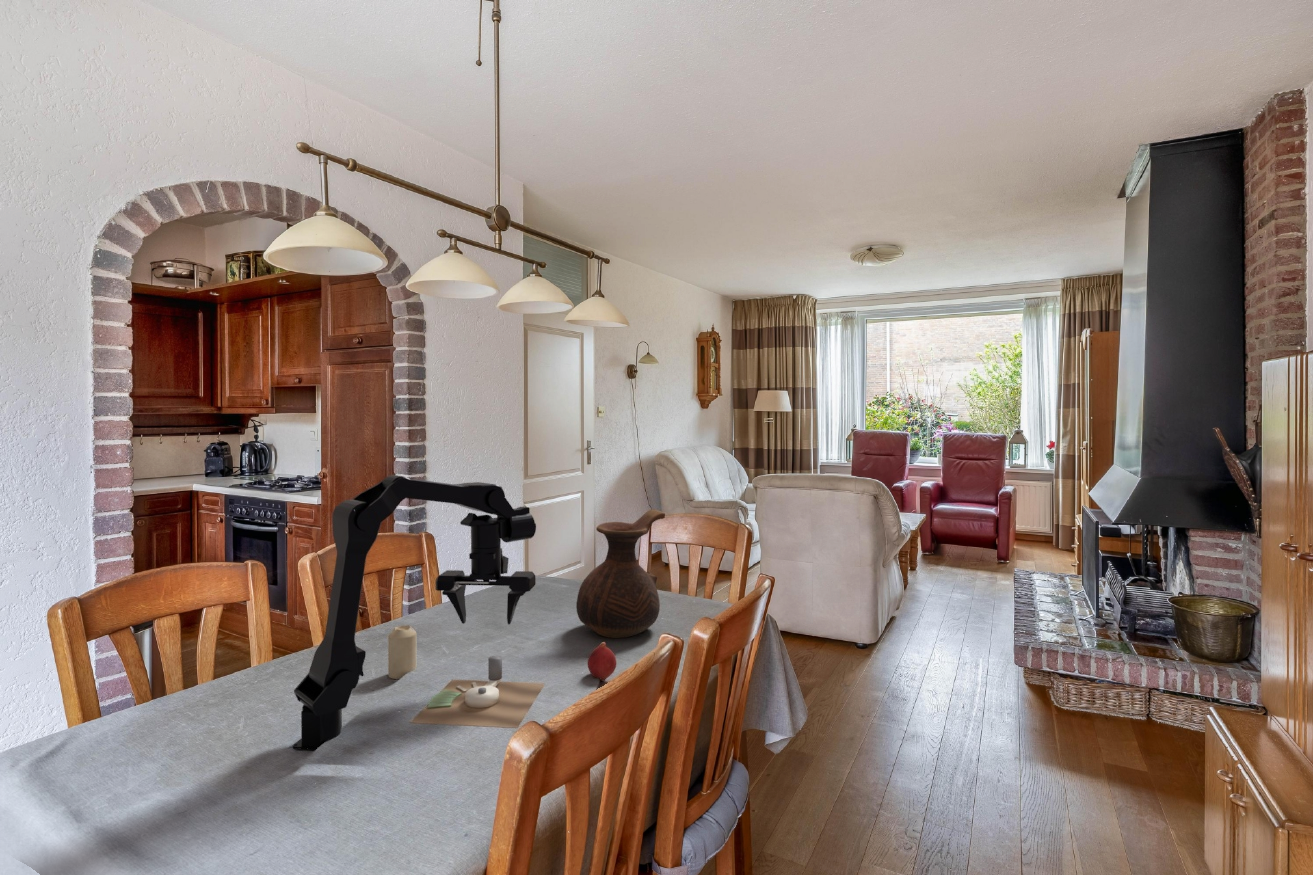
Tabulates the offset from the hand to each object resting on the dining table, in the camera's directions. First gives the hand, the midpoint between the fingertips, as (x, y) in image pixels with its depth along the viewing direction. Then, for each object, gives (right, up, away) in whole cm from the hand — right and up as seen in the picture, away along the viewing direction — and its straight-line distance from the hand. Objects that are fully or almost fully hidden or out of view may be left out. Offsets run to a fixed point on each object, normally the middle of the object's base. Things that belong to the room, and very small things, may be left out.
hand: (486, 623), depth 133 cm
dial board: (+2, -13, -9) cm, 16 cm away
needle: (+2, -12, -7) cm, 13 cm away
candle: (-19, -13, +6) cm, 24 cm away
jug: (+24, -12, +37) cm, 46 cm away
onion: (+23, -13, +4) cm, 26 cm away
